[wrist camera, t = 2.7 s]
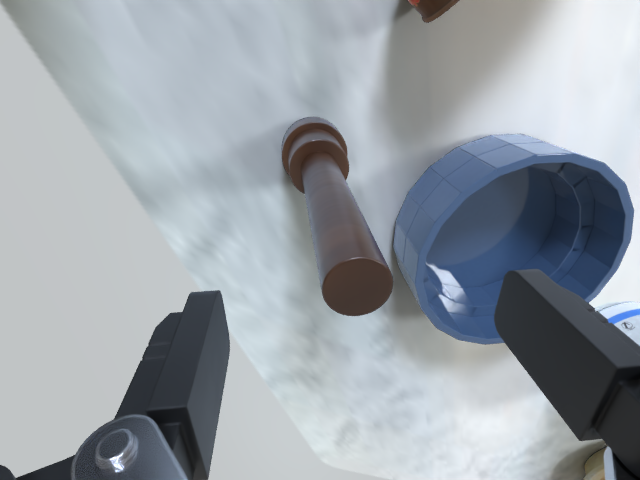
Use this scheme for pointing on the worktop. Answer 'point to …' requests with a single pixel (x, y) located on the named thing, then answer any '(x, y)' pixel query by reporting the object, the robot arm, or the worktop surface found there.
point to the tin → (432, 8)
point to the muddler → (335, 219)
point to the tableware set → (595, 466)
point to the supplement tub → (625, 318)
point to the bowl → (508, 228)
